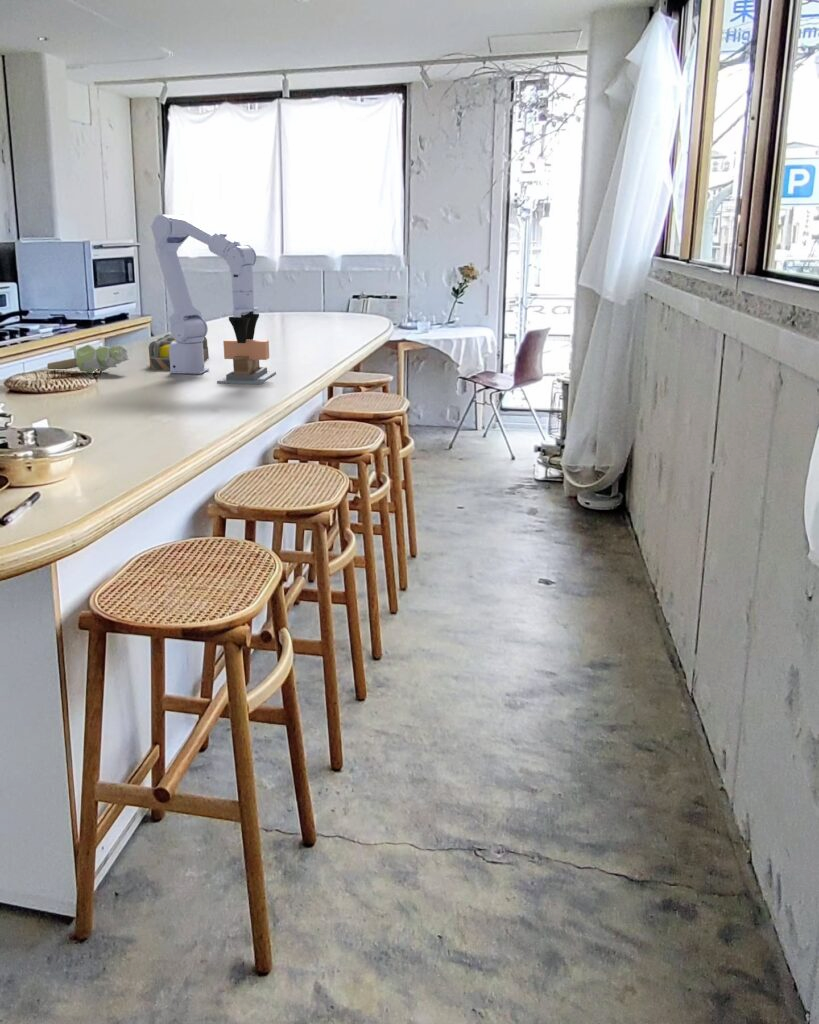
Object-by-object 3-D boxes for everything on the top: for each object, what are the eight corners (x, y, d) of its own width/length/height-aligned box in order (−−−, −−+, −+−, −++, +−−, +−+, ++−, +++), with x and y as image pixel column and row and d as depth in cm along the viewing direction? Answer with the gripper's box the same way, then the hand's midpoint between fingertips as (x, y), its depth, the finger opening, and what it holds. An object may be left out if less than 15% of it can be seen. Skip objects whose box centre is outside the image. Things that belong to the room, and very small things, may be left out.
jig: (217, 383, 230) (216, 375, 230) (236, 372, 247) (235, 365, 247) (259, 384, 229) (259, 376, 229) (275, 373, 246) (275, 366, 246)
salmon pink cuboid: (269, 358, 238) (268, 340, 236) (266, 359, 234) (265, 341, 233) (228, 357, 239) (227, 339, 237) (224, 358, 235) (223, 340, 234)
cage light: (142, 343, 249) (166, 331, 277) (144, 370, 251) (168, 356, 280) (191, 343, 249) (211, 332, 277) (193, 370, 252) (212, 356, 280)
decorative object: (39, 372, 240) (118, 357, 236) (43, 345, 244) (121, 329, 240) (57, 389, 248) (134, 374, 243) (61, 362, 252) (137, 347, 248)
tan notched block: (248, 379, 232) (247, 357, 230) (234, 379, 232) (232, 357, 231) (259, 372, 243) (258, 351, 241) (246, 372, 244) (245, 351, 242)
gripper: (249, 293, 223) (252, 344, 228) (263, 289, 237) (266, 338, 241) (224, 293, 224) (227, 344, 228) (239, 289, 238) (242, 337, 242)
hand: (245, 341), depth 235 cm, fingers open, 7 cm apart
